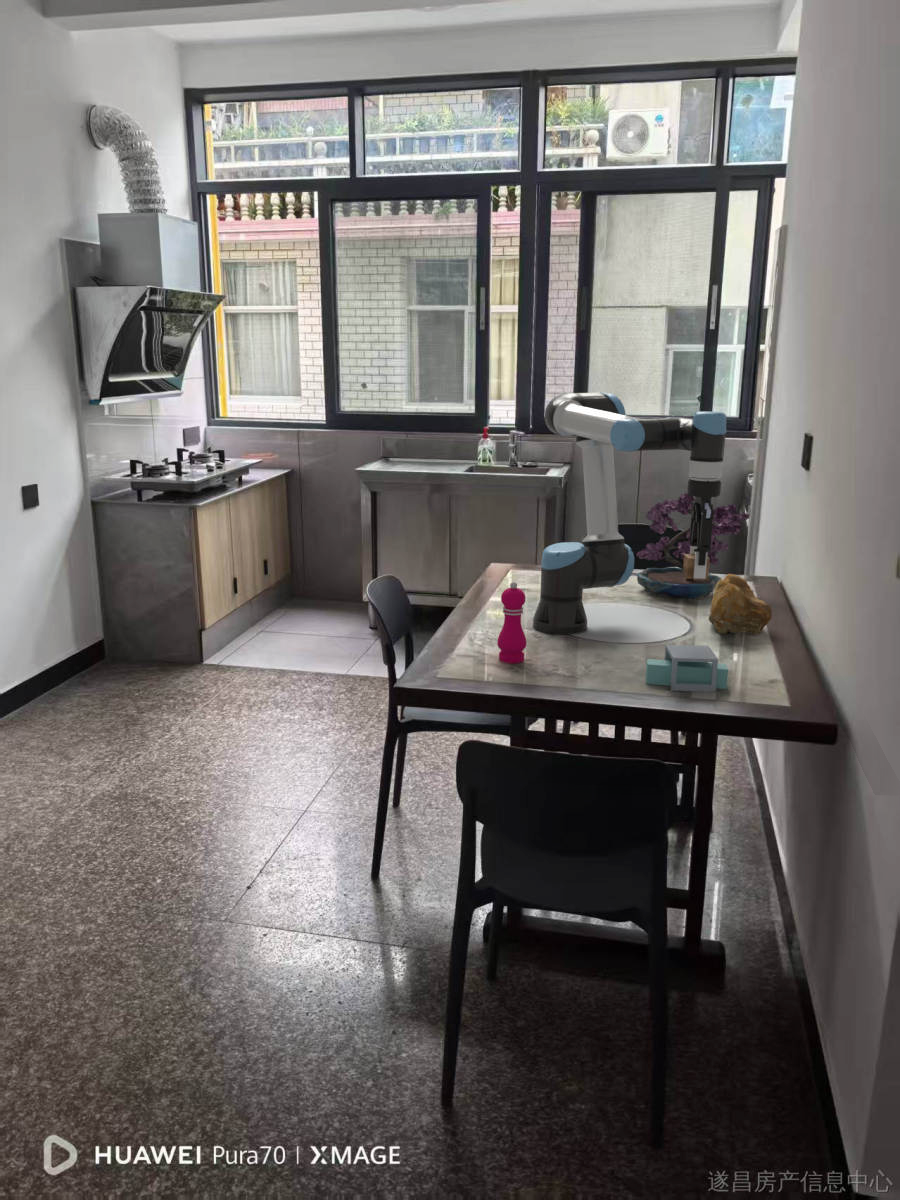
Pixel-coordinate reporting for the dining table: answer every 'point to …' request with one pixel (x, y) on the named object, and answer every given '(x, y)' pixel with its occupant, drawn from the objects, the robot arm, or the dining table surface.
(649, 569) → the bonsai tree
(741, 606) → the rough brown rock
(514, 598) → the pepper mill
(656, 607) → the dining table surface
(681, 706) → the dining table surface
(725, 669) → the teal rod
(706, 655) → the tunnel
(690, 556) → the walnut block
